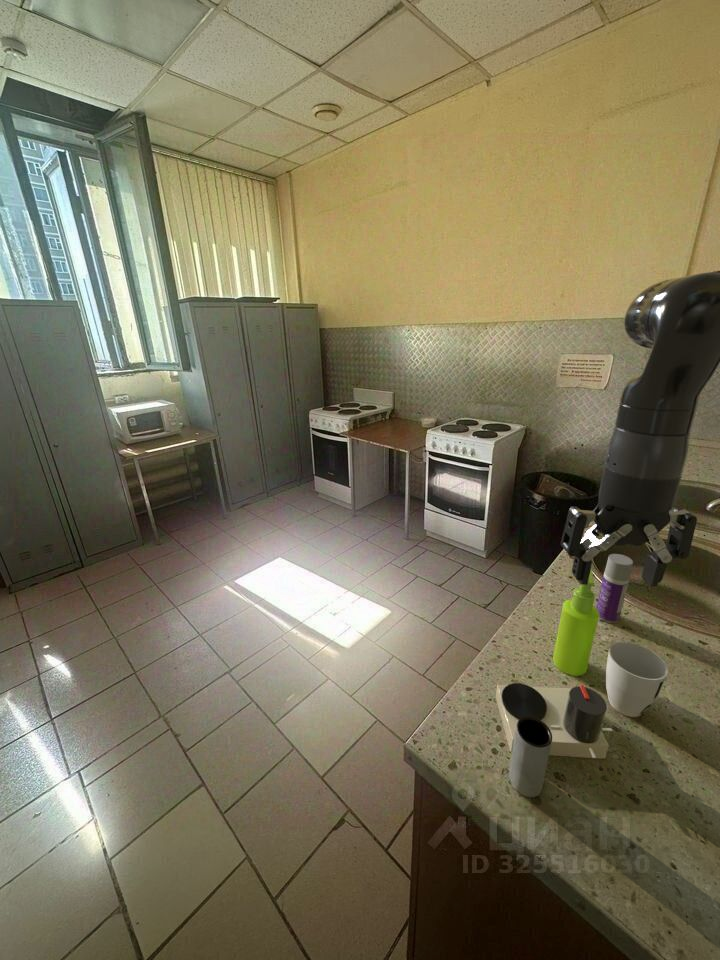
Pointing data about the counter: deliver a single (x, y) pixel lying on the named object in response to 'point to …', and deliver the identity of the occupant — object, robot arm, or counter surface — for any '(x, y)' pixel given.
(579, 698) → the knob
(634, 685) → the cup
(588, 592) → the soap dispenser
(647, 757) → the counter surface
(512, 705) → the hotplate
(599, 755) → the hob
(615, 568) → the container
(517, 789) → the planter
